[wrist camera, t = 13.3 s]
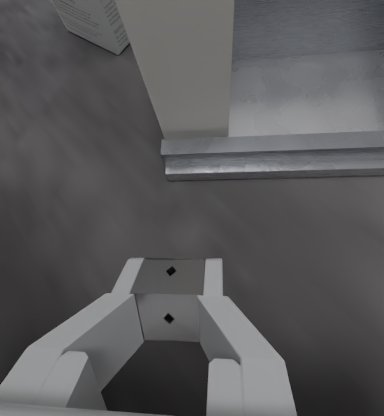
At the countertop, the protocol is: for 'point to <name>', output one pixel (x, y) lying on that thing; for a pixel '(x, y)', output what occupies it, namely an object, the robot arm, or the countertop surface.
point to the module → (184, 62)
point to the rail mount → (297, 95)
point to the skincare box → (94, 22)
